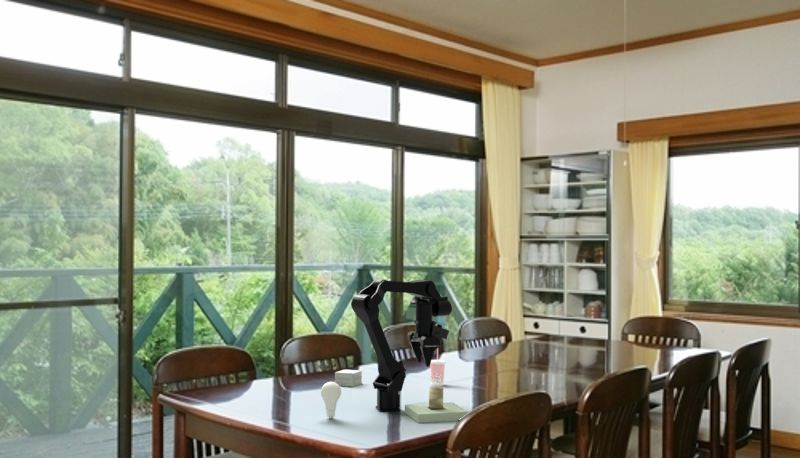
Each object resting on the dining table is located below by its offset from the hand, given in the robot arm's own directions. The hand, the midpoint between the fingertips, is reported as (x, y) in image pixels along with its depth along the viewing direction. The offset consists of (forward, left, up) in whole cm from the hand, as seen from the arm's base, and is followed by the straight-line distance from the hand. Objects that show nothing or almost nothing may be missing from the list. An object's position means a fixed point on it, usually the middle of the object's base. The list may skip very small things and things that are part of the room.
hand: (423, 364), depth 249 cm
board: (-2, -19, -13) cm, 23 cm away
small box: (-17, +40, -13) cm, 45 cm away
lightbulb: (-34, -14, -13) cm, 39 cm away
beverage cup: (+16, +32, -13) cm, 38 cm away
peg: (-2, -19, -13) cm, 23 cm away
